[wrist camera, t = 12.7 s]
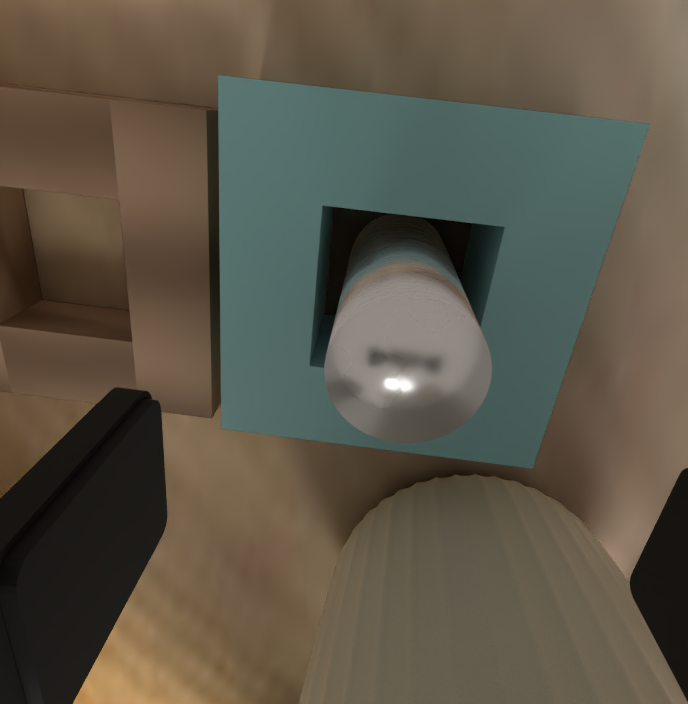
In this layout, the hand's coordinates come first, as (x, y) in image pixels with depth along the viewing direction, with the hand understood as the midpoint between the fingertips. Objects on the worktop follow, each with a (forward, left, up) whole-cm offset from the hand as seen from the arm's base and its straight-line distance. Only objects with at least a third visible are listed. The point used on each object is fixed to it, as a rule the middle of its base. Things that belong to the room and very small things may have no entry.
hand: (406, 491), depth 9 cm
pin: (+1, 0, -14) cm, 14 cm away
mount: (0, +13, -14) cm, 19 cm away
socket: (+1, 0, -14) cm, 14 cm away
